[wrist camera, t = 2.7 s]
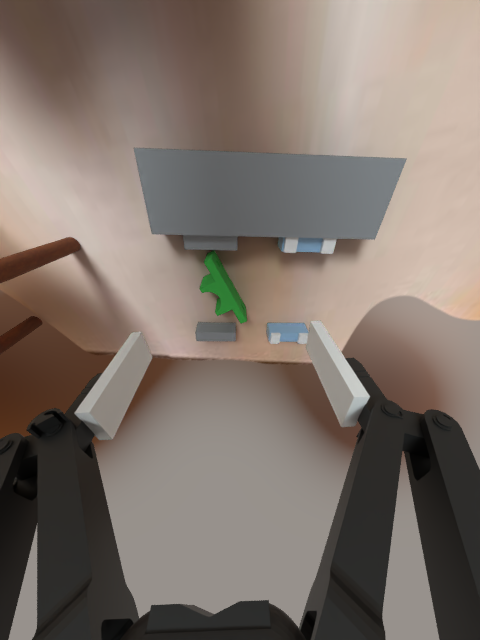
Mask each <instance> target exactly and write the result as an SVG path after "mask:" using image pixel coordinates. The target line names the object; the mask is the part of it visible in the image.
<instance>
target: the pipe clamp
mask: <svg viewBox="0 0 480 640" xmlns="http://www.w3.org/2000/svg"><path fill="white" fill-rule="evenodd" d="M204 263H205V265H206V267H207V268H208V270H209V272H210V273H211V274H209V275H207V276H205V277H203V280H202V283H201V286H200V290H201V292H202V293H204V292H212V293H215V294H216V295H218V296H219V298H218V299H217V304H216V310H215V313H216V314H217V316H219V315H221V314H223V313H226V312H228V311H230V310H233V312H234V313H235V315H236V317H237V318H238V320H239V322H240V323H244V322H246V321H247V315H246V307H245V305H244V303H243V301H242V299H241V298H240V296H239V294H238V292H237V290H236V289H235V287H234V285H233V283H232V281H231V279H230V278H229V276H228V274H227V272H226V270H225V269H224V267H223V265H222V263H221V261H220V259H219V258H218V256H217V254H216V252H215V250H212V251H211V252H209V253H207V256H206V259H205V261H204Z"/></svg>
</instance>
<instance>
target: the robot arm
mask: <svg viewBox="0 0 480 640" xmlns="http://www.w3.org/2000/svg"><path fill="white" fill-rule="evenodd" d="M306 349H307V352H308V354H309V356H310V358H311V360H312V363H313V365H314V367H315V369H316V372H317V374H318V376H319V378H320V381H321V383H322V385H323V387H324V389H325V392H326V394H327V396H328V398H329V401H330V403H331V405H332V407H333V409H334V412H335V414H336V416H337V418H338V421H339V423H340V425H341V427H349V426H355V425H356V423H357V421H358V422H359V424H360V425H361V427H362V428H361V430H360V431H359V433H358V435H357V437H358V439H357V442H356V446H355V449H354V452H353V456H352V459H351V463H350V466H349V469H348V472H347V476H346V479H345V482H344V486H343V489H342V493H341V496H340V499H339V503H338V506H337V509H336V513H335V516H334V519H333V523H332V526H331V529H330V533H329V536H328V539H327V543H326V546H325V550H324V553H323V556H322V560H321V563H320V566H319V569H318V573H317V576H316V578H315V581H314V583H313V586H312V588H311V591H310V594H309V597H308V600H307V603H306V607H305V610H304V613H303V616H302V620H301V623H300V627H299V628H298V627H297V625H296V624H295V623H294V622H293V621H292V619H291V618H290V617H289V616H288V615H287V614H286V613H284V612H283V611H282V610H281V609H279V608H277V607H276V606H274V605H272V604H270V603H269V601H268V600H265V601H264V600H263V601H240V602H238V603H236V604H234V605H232V606H230V607H228V608H226V609H224V610H222V611H220V612H219V613H217V614H212V613H210V612H208V611H205V610H203V609H201V608H199V607H197V606H195V605H184V604H170V605H152V606H151V610H150V611H149V612H147V613H146V614H145V615H143V616H142V617H141V618H139V616H138V612H137V608H136V605H135V602H134V598H133V596H132V594H131V592H130V591H129V589H128V587H127V585H126V583H125V579H124V575H123V571H122V566H121V562H120V557H119V553H118V549H117V544H116V540H115V536H114V532H113V527H112V523H111V519H110V514H109V510H108V505H107V501H106V496H105V492H104V488H103V483H102V479H101V475H100V470H99V466H98V462H97V458H96V453H95V449H94V445H93V443H92V439H93V437H94V435H95V436H96V437H97V438H98V439H99V440H110V439H113V437H114V436H115V434H116V431H117V429H118V427H119V425H120V423H121V421H122V419H123V417H124V415H125V413H126V411H127V409H128V407H129V405H130V403H131V401H132V399H133V397H134V394H135V392H136V390H137V388H138V386H139V384H140V382H141V380H142V378H143V376H144V374H145V372H146V370H147V368H148V366H149V363H150V362H151V360H152V355H151V352H150V350H149V348H148V345H147V343H146V341H145V338H144V336H143V333H142V332H132V333H131V334H130V336H129V337H128V339H127V340H126V341H125V343H124V344H123V346H122V347H121V348H120V350H119V351H118V353H117V354H116V355H115V357H114V358H113V360H112V361H111V362H110V364H109V365H108V367H107V368H106V369H105V371H104V373H100V374H97V375H96V376H95V377H93V378H92V379H91V380H90V381H89V383H88V384H87V385H86V387H85V389H83V390H82V392H81V394H80V395H79V396H78V397H77V398H76V400H75V401H74V402H73V404H72V405H71V406H70V408H69V409H68V410H67V412H66V413H65V414H63V412H62V411H61V410H60V409H56V408H54V409H49V410H47V411H45V412H43V413H41V414H39V415H38V416H37V417H35V418H34V419H33V420H32V421H31V423H30V424H29V425H28V427H27V431H28V432H29V433H31V434H32V435H30V436H26V437H23V436H22V435H21V434H19V433H13V434H9V435H7V436H5V437H3V438H1V439H0V640H8V638H9V634H10V630H11V626H12V622H13V618H14V614H15V610H16V606H17V602H18V598H19V594H20V590H21V586H22V582H23V578H24V574H25V570H26V566H27V562H28V558H29V554H30V550H31V545H32V542H33V538H34V533H35V529H36V525H37V526H38V528H37V532H38V536H37V537H38V538H37V541H38V542H37V547H38V548H37V549H38V550H37V553H38V554H37V562H38V563H37V570H38V571H37V579H38V580H37V584H38V585H37V630H36V633H35V636H34V637H33V639H32V640H385V631H384V626H383V621H382V611H383V602H384V594H385V586H386V577H387V569H388V561H389V553H390V545H391V537H392V529H393V521H394V513H395V505H396V497H397V489H398V481H399V473H400V465H401V457H402V451H404V453H405V458H406V464H407V469H408V474H409V480H410V485H411V491H412V496H413V501H414V506H415V512H416V516H417V522H418V528H419V533H420V538H421V544H422V549H423V554H424V559H425V565H426V570H427V575H428V581H429V585H430V591H431V596H432V602H433V607H434V612H435V618H436V623H437V628H438V634H439V639H440V640H480V470H479V467H478V465H477V463H476V460H475V458H474V456H473V453H472V451H471V449H470V447H469V444H468V442H467V440H466V438H465V435H464V433H463V431H462V428H461V427H460V425H459V424H458V423H457V422H456V421H455V420H454V419H453V418H452V417H450V416H449V415H447V414H446V413H443V412H441V411H438V410H427V411H426V412H425V413H424V414H419V413H415V412H410V411H406V410H403V409H402V408H401V407H400V406H399V405H397V404H396V403H394V402H392V401H389V400H387V399H386V398H385V396H384V395H383V393H382V392H381V390H380V389H379V388H378V386H377V385H376V384H375V382H374V381H373V379H372V378H371V377H370V375H369V374H368V373H367V372H366V370H365V368H364V367H363V366H362V364H361V363H359V362H358V361H357V360H356V359H354V358H346V359H345V358H344V356H343V355H342V353H341V351H340V350H339V348H338V347H337V345H336V344H335V342H334V341H333V339H332V338H331V336H330V334H329V333H328V331H327V330H326V328H325V327H324V325H323V324H322V322H321V321H310V327H309V333H308V339H307V345H306ZM37 523H38V524H37Z"/></svg>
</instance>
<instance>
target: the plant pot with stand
mask: <svg viewBox="0 0 480 640" xmlns="http://www.w3.org/2000/svg"><path fill="white" fill-rule="evenodd" d="M79 249H80V244H79V242H78V241H77V240H75V239H74V238H71V237H68V238H64V239H61V240H58V241H55V242H52V243H48V244H45V245H42V246H39V247H36V248H33V249H29V250H26V251H23V252H20V253H17V254H13V255H10V256H7V257H4V258H1V259H0V283H3V282H5V281H7V280H10V279H12V278H15V277H17V276H19V275H22V274H24V273H26V272H29V271H31V270H34V269H36V268H38V267H41V266H43V265H45V264H48V263H50V262H53V261H55V260H57V259H60V258H62V257H64V256H67V255H69V254H72V253H74V252H76V251H78V250H79ZM40 325H42V321H41V320H40V319H39V318H37V317H34V316H31V317H29V318H28V319H26V320H25V321H23V322H22V323H20V324H19V325H17V326H16V327H14V328H12V329H11V330H9V331H8V332H6V333H5V334H3V335H2V336H0V354H1V353H3V352H4V351H6V350H7V349H9V348H10V347H11V346H13V345H14V344H15V343H17V342H18V341H19V340H21V339H22V338H24V337H25V336H26V335H28V334H29V333H31V332H32V331H33V330H35V329H36V328H37V327H39V326H40Z"/></svg>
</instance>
